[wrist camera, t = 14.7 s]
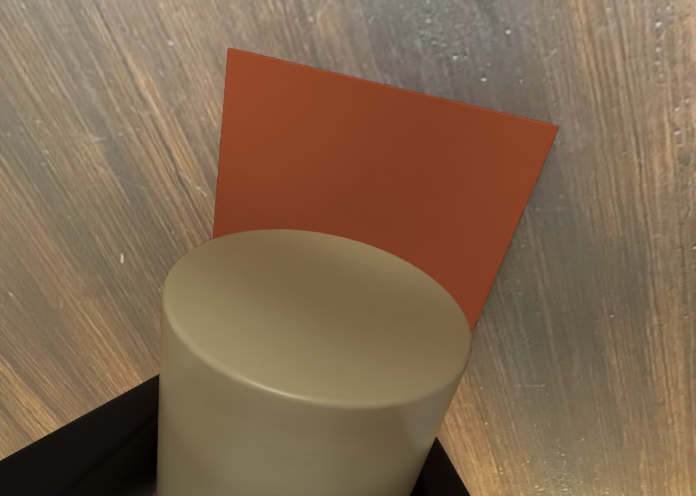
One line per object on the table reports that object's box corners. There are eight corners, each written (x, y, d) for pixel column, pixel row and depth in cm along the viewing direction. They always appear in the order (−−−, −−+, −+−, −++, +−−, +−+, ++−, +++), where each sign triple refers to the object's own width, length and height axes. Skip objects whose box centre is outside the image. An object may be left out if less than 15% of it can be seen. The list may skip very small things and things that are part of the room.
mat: (434, 409, 18) (435, 419, 17) (208, 350, 18) (202, 358, 17) (553, 124, 13) (560, 126, 12) (234, 48, 13) (227, 47, 12)
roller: (385, 517, 10) (308, 780, 6) (242, 438, 11) (97, 616, 7) (481, 283, 7) (456, 486, 3) (276, 210, 8) (70, 294, 4)
